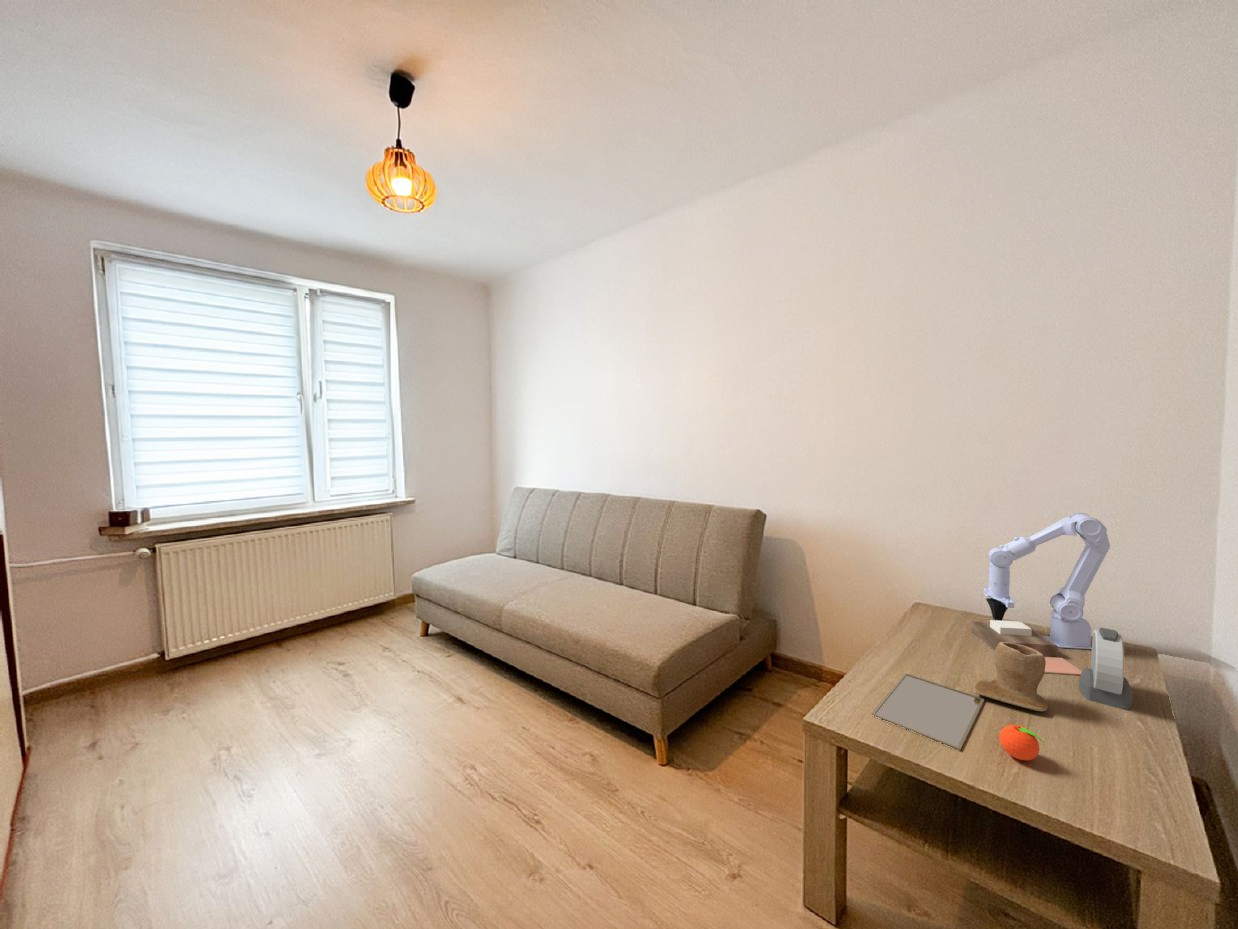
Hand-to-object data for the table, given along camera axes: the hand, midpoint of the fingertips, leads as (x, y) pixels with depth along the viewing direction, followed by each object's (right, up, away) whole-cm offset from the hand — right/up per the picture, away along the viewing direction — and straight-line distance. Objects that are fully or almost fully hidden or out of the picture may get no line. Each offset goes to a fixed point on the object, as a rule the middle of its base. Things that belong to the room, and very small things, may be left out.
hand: (997, 620), depth 166 cm
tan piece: (-27, -9, -38) cm, 48 cm away
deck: (-2, -6, -8) cm, 10 cm away
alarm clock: (-1, -8, -37) cm, 38 cm away
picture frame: (-51, -11, -41) cm, 67 cm away
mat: (-4, -7, -21) cm, 23 cm away
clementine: (-43, -11, -60) cm, 75 cm away
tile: (-2, -1, -7) cm, 7 cm away
